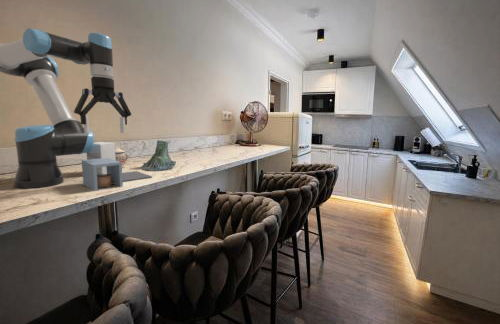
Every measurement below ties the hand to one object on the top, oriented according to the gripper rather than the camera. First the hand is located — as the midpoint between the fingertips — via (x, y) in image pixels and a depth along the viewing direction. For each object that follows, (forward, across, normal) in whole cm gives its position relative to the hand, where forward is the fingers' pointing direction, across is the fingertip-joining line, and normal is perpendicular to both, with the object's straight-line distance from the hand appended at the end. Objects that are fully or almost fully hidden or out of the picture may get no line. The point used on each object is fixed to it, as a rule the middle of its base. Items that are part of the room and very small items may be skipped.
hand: (106, 133), depth 98 cm
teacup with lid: (+21, +21, +35) cm, 46 cm away
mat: (+21, +13, +8) cm, 26 cm away
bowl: (+21, -2, +1) cm, 21 cm away
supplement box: (+21, +8, +25) cm, 34 cm away
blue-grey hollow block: (+21, -2, +1) cm, 21 cm away
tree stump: (+21, +36, +19) cm, 46 cm away
